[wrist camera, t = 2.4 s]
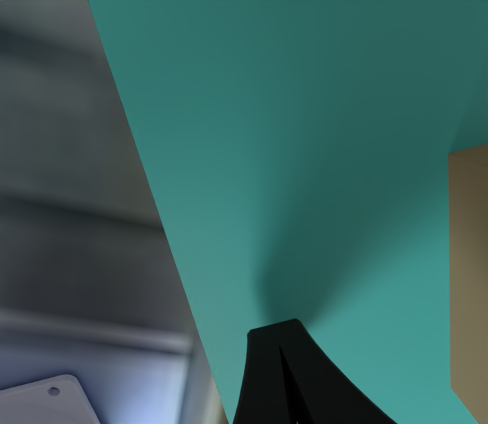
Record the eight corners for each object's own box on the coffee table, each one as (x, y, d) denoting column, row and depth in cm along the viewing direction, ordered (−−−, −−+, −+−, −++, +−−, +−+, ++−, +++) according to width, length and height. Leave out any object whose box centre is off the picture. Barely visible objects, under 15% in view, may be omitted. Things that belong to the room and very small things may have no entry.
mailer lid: (262, 514, 15) (278, 623, 12) (93, -1, 8) (34, -36, 5) (605, 423, 15) (700, 508, 12) (730, -150, 8) (1014, -262, 5)
